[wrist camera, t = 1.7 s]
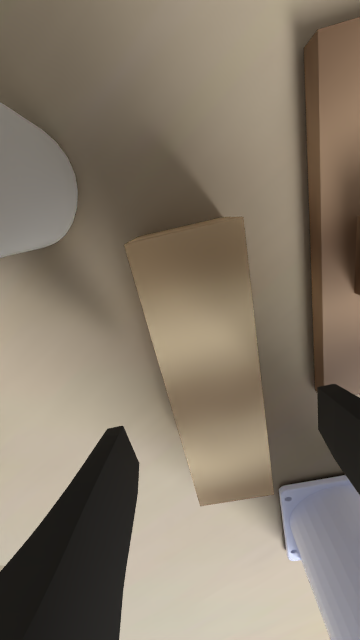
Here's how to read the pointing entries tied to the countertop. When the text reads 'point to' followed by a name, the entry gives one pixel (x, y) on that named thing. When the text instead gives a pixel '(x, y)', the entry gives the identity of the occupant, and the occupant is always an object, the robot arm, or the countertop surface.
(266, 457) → the beam
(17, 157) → the beverage can
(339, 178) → the fulcrum
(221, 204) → the countertop surface
